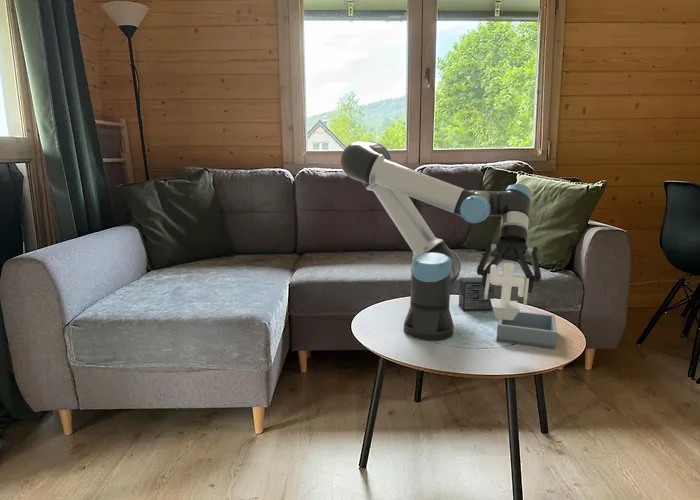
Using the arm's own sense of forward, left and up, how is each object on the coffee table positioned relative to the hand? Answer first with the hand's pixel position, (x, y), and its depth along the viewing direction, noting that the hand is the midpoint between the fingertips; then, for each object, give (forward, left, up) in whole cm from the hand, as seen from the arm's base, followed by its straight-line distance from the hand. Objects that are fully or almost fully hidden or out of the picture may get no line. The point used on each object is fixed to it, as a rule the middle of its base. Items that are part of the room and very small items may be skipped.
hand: (505, 299), depth 133 cm
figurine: (0, +3, -6) cm, 7 cm away
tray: (+6, +17, -16) cm, 24 cm away
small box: (-11, +38, -16) cm, 43 cm away
